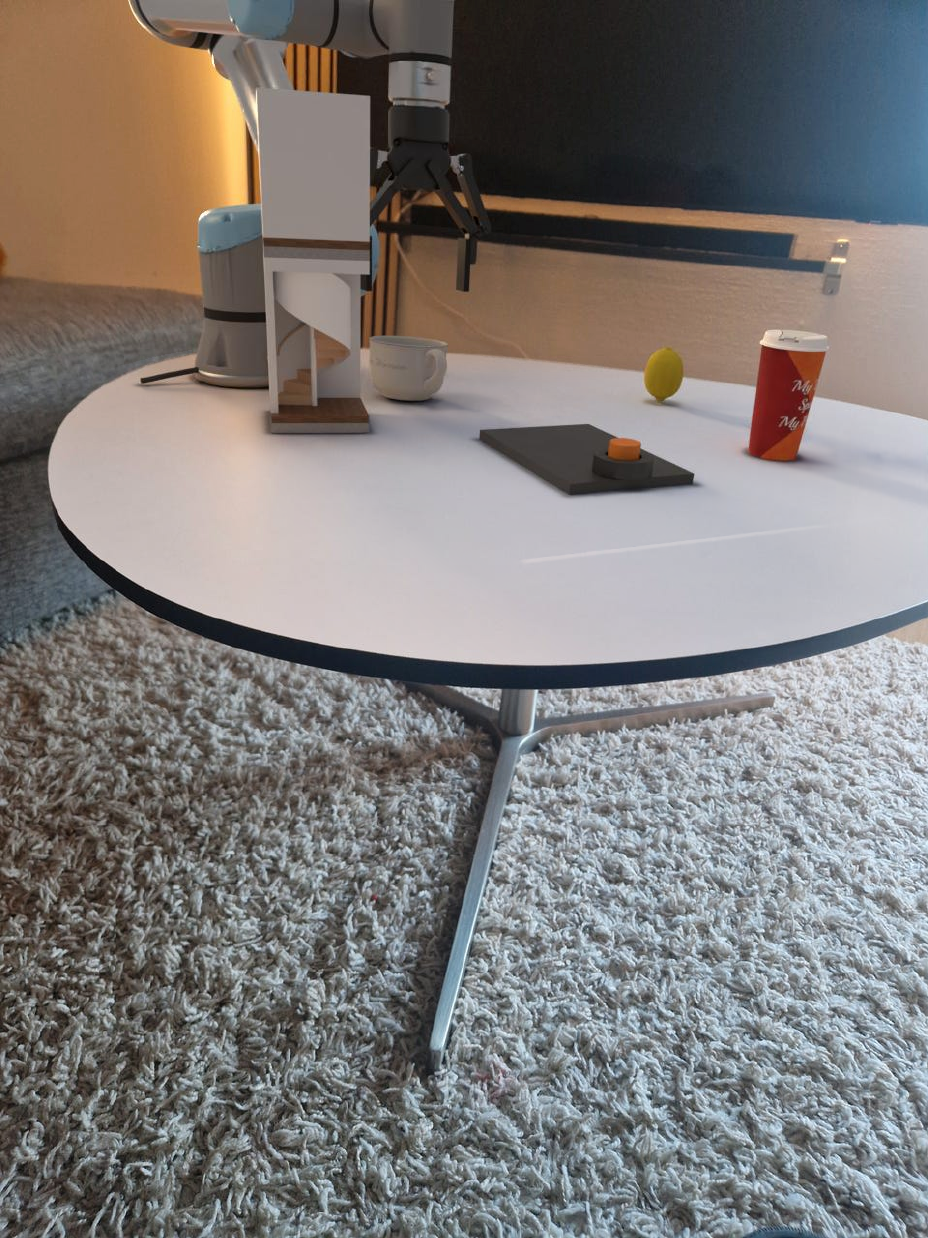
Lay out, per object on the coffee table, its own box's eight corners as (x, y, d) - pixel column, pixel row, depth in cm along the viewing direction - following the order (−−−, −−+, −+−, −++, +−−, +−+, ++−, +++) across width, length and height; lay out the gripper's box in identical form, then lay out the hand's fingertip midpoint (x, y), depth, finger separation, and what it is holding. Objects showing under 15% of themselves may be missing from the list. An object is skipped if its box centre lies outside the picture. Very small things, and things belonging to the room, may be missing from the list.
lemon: (637, 403, 130) (645, 346, 127) (645, 396, 135) (652, 341, 132) (675, 408, 129) (684, 350, 125) (681, 401, 133) (690, 345, 130)
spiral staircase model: (271, 432, 105) (256, 87, 90) (270, 411, 114) (256, 95, 99) (368, 432, 107) (370, 95, 92) (359, 411, 117) (359, 102, 101)
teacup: (358, 390, 128) (358, 332, 125) (428, 387, 133) (429, 331, 129) (393, 412, 117) (394, 350, 114) (467, 409, 121) (471, 348, 118)
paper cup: (796, 467, 103) (824, 341, 97) (731, 454, 107) (753, 332, 100) (812, 453, 109) (838, 334, 103) (749, 442, 113) (771, 326, 107)
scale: (571, 497, 89) (575, 467, 87) (479, 439, 107) (480, 414, 106) (696, 486, 94) (700, 458, 93) (587, 432, 113) (590, 409, 111)
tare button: (618, 463, 91) (620, 446, 90) (601, 455, 93) (603, 438, 93) (644, 461, 92) (647, 444, 91) (627, 453, 95) (630, 436, 94)
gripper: (328, 95, 102) (331, 292, 111) (524, 112, 111) (512, 293, 120) (311, 99, 108) (315, 286, 117) (498, 115, 117) (488, 287, 126)
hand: (415, 290), depth 118 cm, fingers open, 13 cm apart
